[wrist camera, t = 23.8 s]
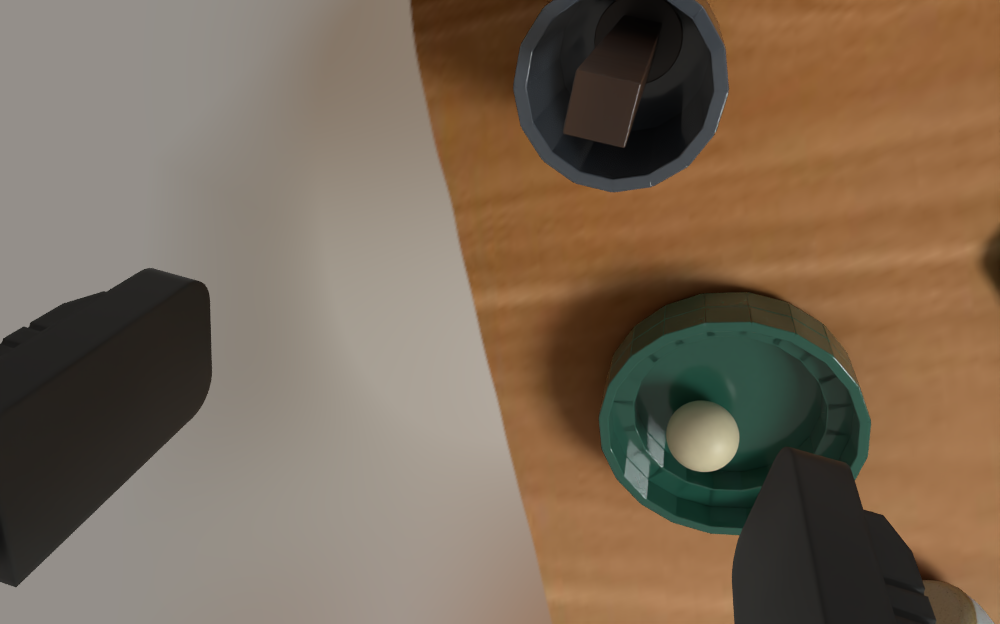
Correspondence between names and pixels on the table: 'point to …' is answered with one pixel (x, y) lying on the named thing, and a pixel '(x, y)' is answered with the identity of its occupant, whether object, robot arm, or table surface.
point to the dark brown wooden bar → (622, 68)
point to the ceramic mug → (953, 605)
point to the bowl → (728, 402)
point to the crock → (662, 109)
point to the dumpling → (702, 436)
